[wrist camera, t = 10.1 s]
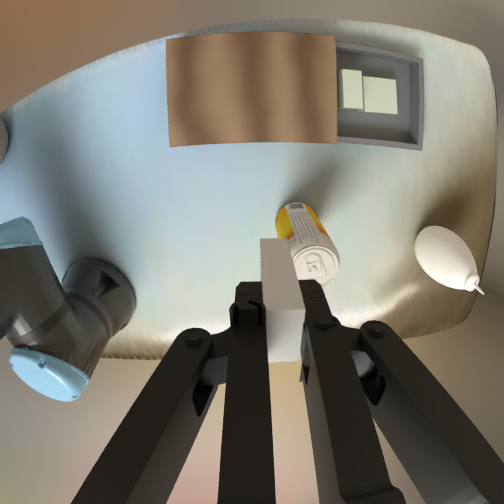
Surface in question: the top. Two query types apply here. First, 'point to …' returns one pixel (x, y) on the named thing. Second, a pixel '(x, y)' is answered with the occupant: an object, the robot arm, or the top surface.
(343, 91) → the front tile
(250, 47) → the walnut board
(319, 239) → the beer can
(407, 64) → the box
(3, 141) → the coffee pot
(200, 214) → the top surface
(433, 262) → the air blower bulb
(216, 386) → the robot arm
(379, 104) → the rear tile
